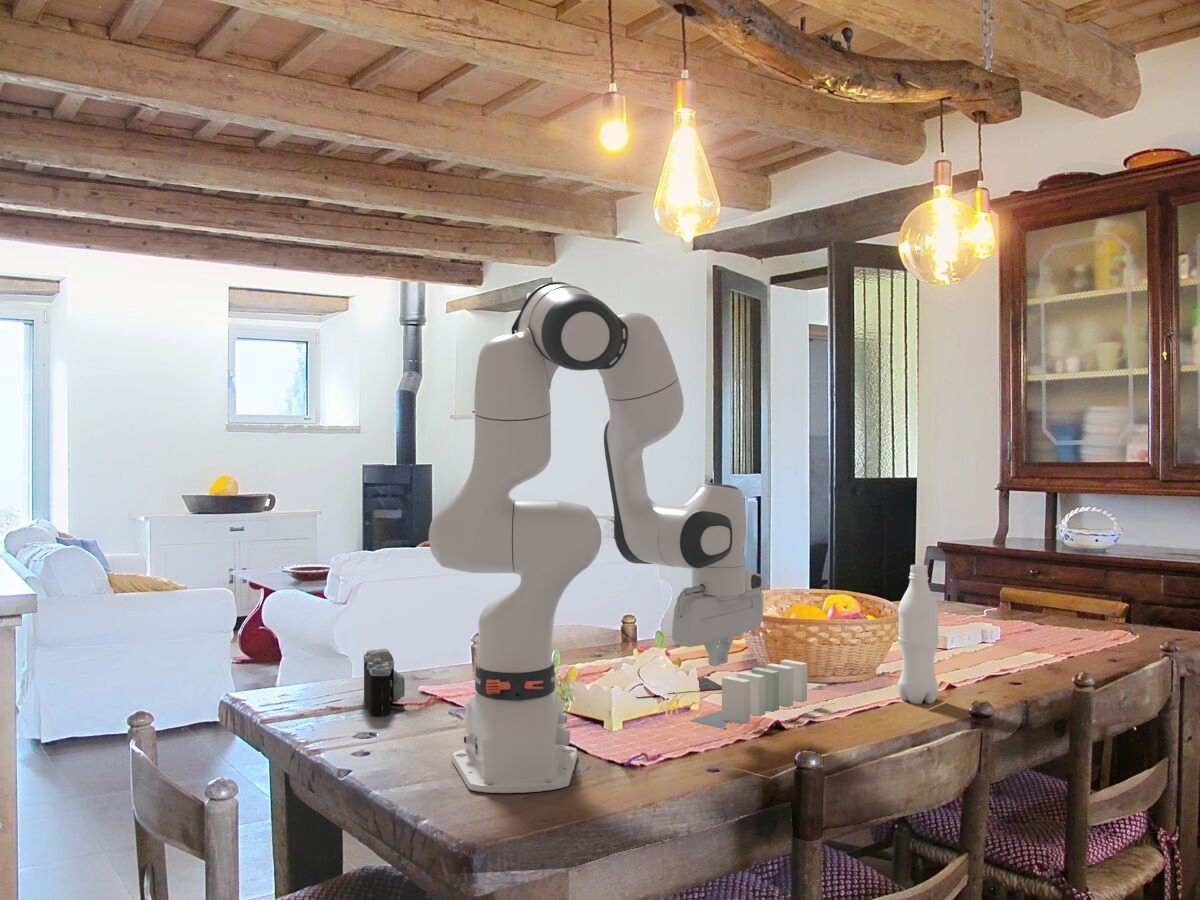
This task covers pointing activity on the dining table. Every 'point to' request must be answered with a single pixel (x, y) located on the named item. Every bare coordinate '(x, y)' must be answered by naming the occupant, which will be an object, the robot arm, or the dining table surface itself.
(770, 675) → the tile
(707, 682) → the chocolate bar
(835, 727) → the dining table surface
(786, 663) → the tile
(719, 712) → the felt runner
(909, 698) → the water bottle
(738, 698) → the tile
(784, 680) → the tile
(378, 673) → the camera
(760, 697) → the tile
